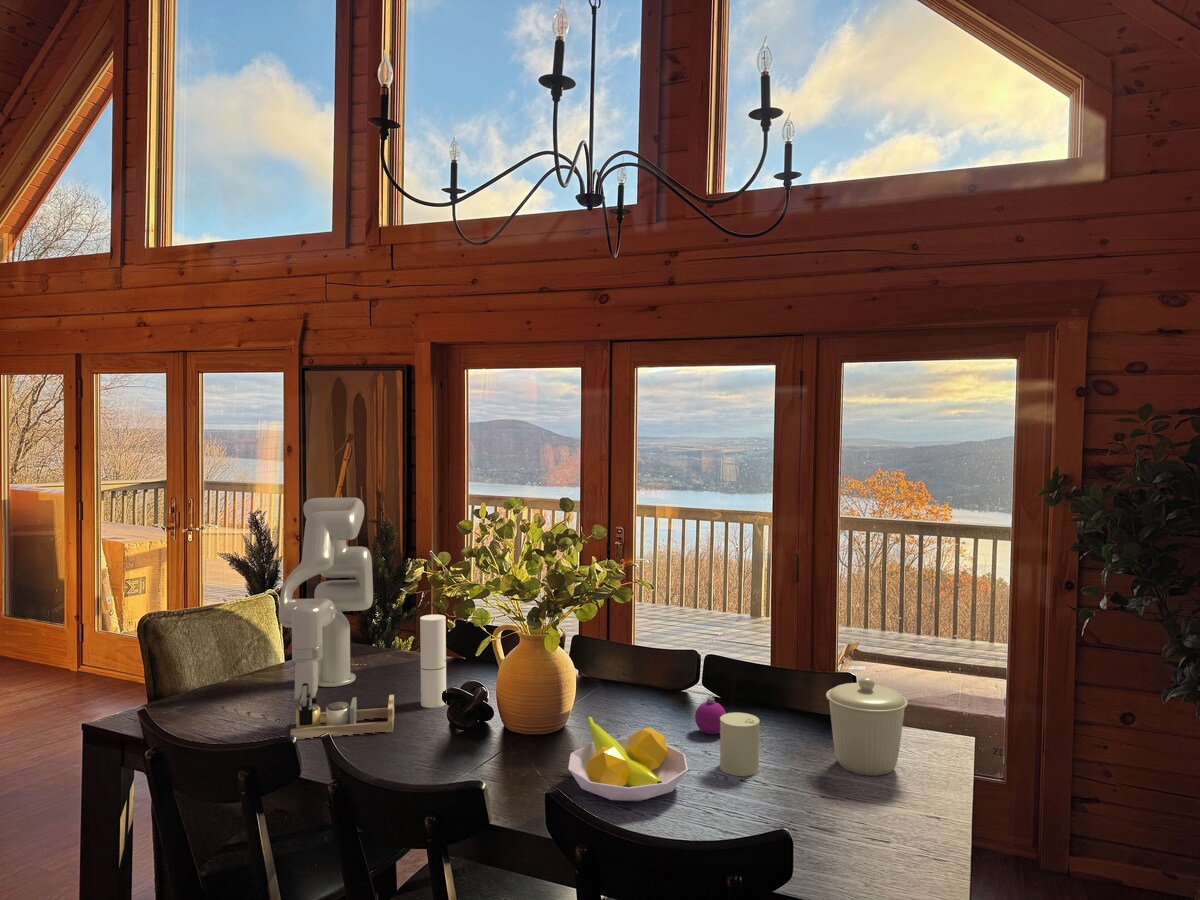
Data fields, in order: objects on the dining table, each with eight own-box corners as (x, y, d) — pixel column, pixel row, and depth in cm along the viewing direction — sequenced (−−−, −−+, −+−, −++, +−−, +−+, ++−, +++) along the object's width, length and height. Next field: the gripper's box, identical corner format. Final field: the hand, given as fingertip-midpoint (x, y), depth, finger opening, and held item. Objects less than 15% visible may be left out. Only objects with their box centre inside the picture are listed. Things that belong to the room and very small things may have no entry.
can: (750, 779, 185) (750, 727, 184) (713, 770, 190) (713, 719, 189) (765, 765, 192) (765, 714, 192) (728, 757, 197) (729, 707, 197)
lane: (297, 723, 220) (297, 701, 220) (394, 716, 226) (393, 694, 225) (290, 740, 208) (290, 716, 208) (392, 731, 214) (392, 709, 214)
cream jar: (327, 725, 219) (327, 702, 219) (350, 723, 220) (350, 700, 220) (324, 733, 213) (324, 709, 213) (348, 731, 214) (348, 708, 214)
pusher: (352, 719, 222) (352, 697, 222) (356, 719, 222) (356, 697, 222) (350, 731, 213) (349, 708, 213) (354, 730, 213) (353, 708, 213)
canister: (817, 751, 201) (818, 666, 200) (892, 752, 200) (893, 666, 199) (836, 783, 183) (837, 689, 182) (918, 784, 182) (919, 690, 181)
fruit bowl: (708, 804, 172) (708, 751, 172) (584, 822, 165) (584, 767, 164) (661, 754, 199) (661, 708, 199) (552, 767, 192) (552, 719, 191)
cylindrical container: (449, 699, 239) (448, 614, 238) (442, 708, 232) (441, 620, 231) (425, 699, 240) (424, 614, 239) (417, 707, 233) (416, 620, 232)
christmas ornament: (701, 740, 208) (701, 701, 207) (690, 728, 216) (690, 691, 215) (731, 737, 210) (731, 698, 209) (719, 726, 218) (719, 689, 217)
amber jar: (297, 727, 218) (297, 704, 217) (321, 725, 219) (321, 702, 219) (294, 735, 212) (294, 711, 212) (318, 733, 213) (318, 710, 213)
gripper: (297, 644, 222) (297, 709, 223) (286, 662, 205) (287, 732, 206) (326, 643, 224) (326, 706, 224) (318, 661, 207) (319, 729, 207)
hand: (308, 718), depth 215 cm, fingers open, 7 cm apart
